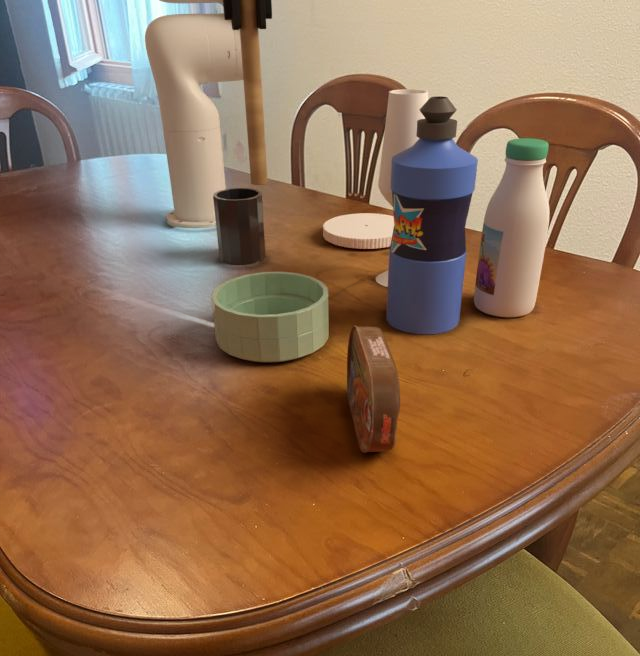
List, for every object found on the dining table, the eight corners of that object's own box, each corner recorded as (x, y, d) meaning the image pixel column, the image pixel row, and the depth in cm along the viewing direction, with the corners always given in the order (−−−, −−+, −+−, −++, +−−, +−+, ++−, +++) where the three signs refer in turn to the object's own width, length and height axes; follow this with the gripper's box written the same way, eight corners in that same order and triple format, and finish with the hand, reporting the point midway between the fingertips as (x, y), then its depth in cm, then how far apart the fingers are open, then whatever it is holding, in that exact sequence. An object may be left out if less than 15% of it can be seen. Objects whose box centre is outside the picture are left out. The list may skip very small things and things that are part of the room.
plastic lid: (305, 240, 109) (305, 225, 107) (366, 222, 116) (366, 208, 115) (364, 261, 100) (365, 245, 98) (426, 241, 107) (427, 225, 106)
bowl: (265, 308, 86) (262, 264, 82) (349, 333, 79) (350, 285, 76) (193, 347, 77) (187, 299, 73) (282, 378, 70) (280, 326, 67)
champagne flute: (390, 267, 97) (398, 86, 84) (431, 276, 94) (445, 90, 81) (366, 282, 93) (370, 93, 80) (408, 292, 90) (419, 96, 76)
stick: (258, 180, 72) (243, -43, 61) (271, 182, 71) (258, -43, 60) (247, 184, 71) (230, -43, 60) (260, 186, 70) (245, -44, 59)
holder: (240, 250, 105) (234, 185, 100) (275, 258, 102) (271, 191, 96) (210, 262, 100) (202, 195, 95) (246, 271, 97) (240, 202, 91)
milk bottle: (536, 298, 87) (565, 136, 76) (531, 322, 81) (562, 149, 70) (477, 292, 89) (497, 133, 78) (468, 314, 83) (489, 146, 72)
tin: (344, 385, 69) (344, 310, 64) (374, 383, 69) (376, 309, 64) (364, 472, 56) (366, 388, 52) (400, 470, 57) (406, 386, 52)
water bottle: (416, 341, 77) (433, 107, 63) (370, 314, 84) (376, 96, 70) (476, 322, 81) (503, 98, 67) (427, 298, 88) (443, 89, 74)
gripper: (318, -221, 57) (322, 25, 68) (134, -225, 55) (166, 30, 65) (335, -248, 51) (336, 28, 61) (128, -254, 49) (164, 33, 59)
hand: (248, 27), depth 63 cm, fingers closed on stick
